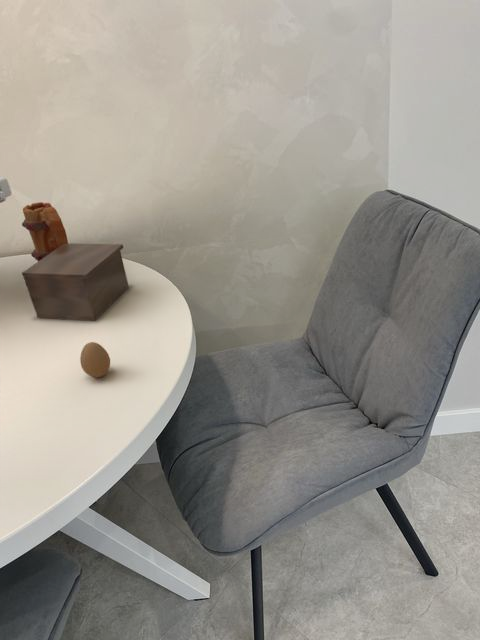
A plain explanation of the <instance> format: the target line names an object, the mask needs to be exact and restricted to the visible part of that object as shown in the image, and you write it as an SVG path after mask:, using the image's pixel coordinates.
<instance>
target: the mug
mask: <svg viewBox="0 0 480 640" xmlns="http://www.w3.org/2000/svg"><path fill="white" fill-rule="evenodd" d="M22 212H23V216H24V220H23V222H22V223H21V226H22V227H23V228H25V229H26V230H27V231H28V232H29V235H30V237H31V240H32V244H33V247H34V250H33V251H32V252H31V254H30V255H31V257H32V258H34V259H35V261H37V262H38V261H40V260H41V259H43V258H44V257H46V256H47V255H48V254H50V253H51V252H53V251H54V250H56V249H57V248H59V247H60V246H61V245H63V244H64V243H68V244H69V240H68V235H67V232H66V229H65V227H64V223H63V221H62V218H61V216H60V215H59V212H58V211H57V209H56V208H55V207H54V206H52V204H51V203H50V202H45V203H44V202H42V201H41V202H32V203H31V204H27V205H26V206H24V207H23V208H22Z"/></svg>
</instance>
